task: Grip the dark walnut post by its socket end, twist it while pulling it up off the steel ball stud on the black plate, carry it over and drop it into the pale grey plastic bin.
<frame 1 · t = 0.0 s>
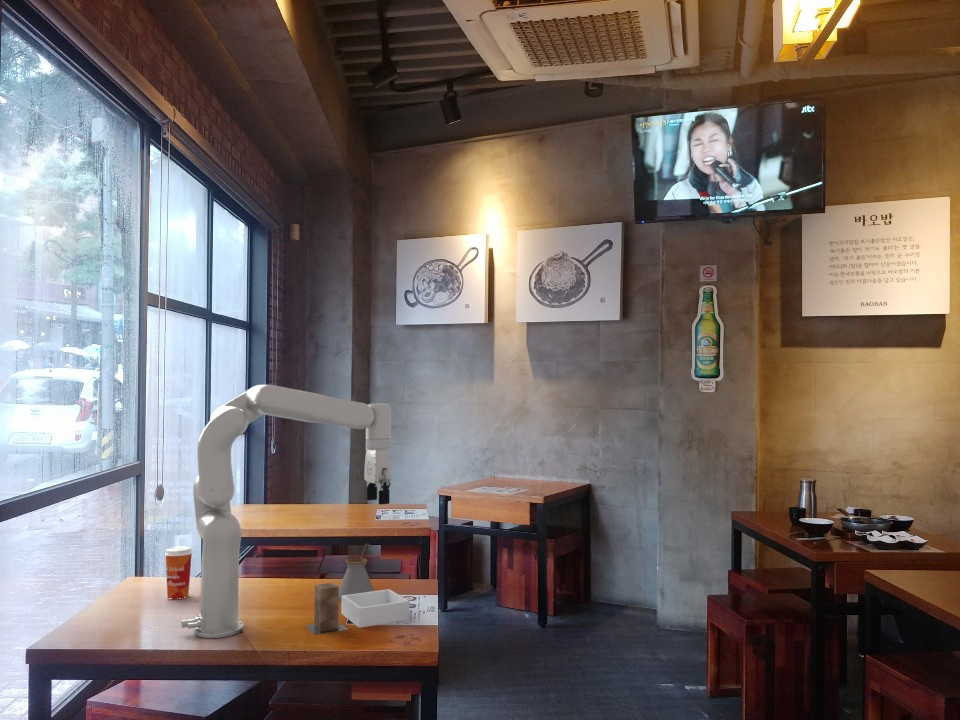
hand: (377, 501, 222), 31 cm above the table, tool pointing down, fingers open, 9 cm apart
stud plate: (326, 631, 199), on the table
walnut post: (326, 627, 199), point 1 cm above the table, touching stud plate
coffee cup: (178, 597, 232), on the table
coffee pot: (359, 599, 231), on the table
grey bin: (374, 620, 209), on the table
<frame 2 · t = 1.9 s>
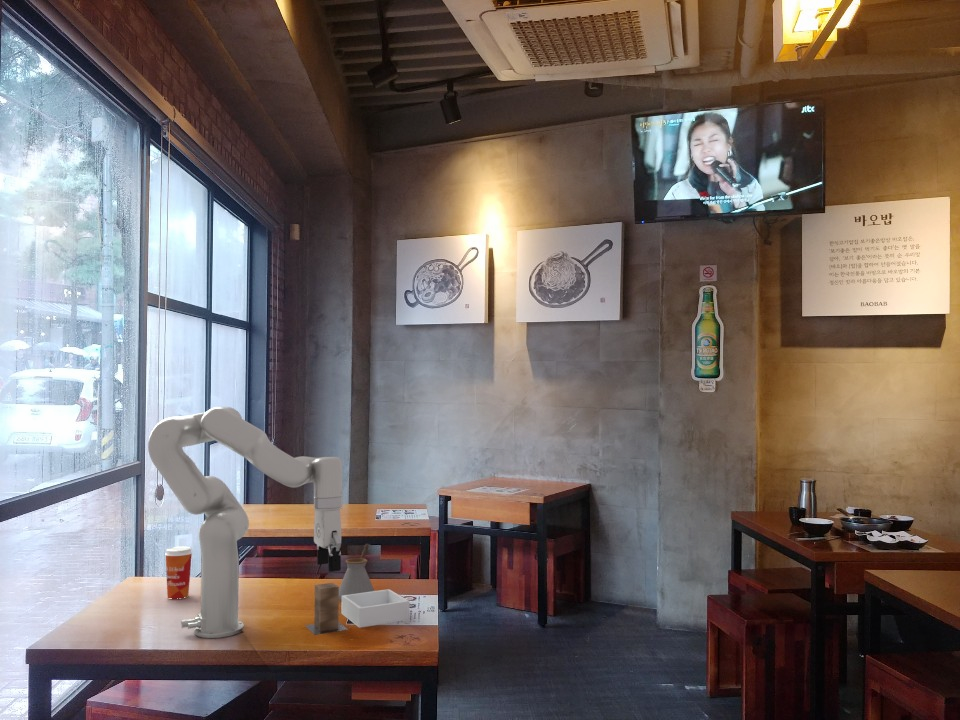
hand: (328, 567, 200), 17 cm above the table, tool pointing down, fingers open, 9 cm apart
nothing on the table moved.
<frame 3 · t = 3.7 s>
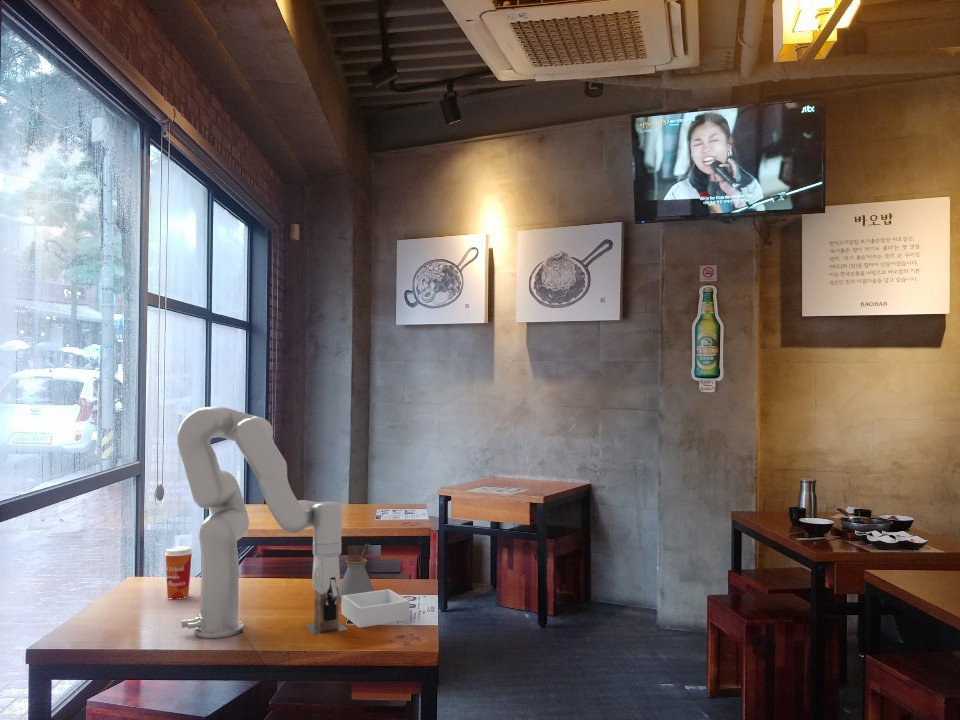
hand: (326, 616, 199), 4 cm above the table, tool pointing down, fingers closed on walnut post, 5 cm apart
walnut post: (326, 627, 199), point 1 cm above the table, touching gripper, stud plate
everything else where it was.
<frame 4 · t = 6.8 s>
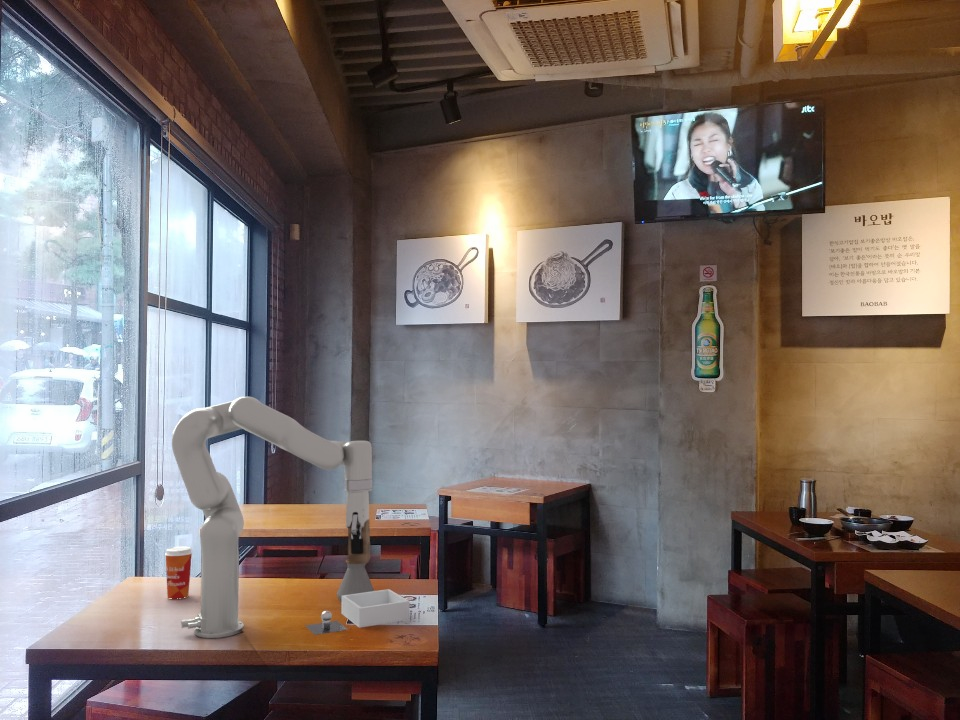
hand: (359, 550, 206), 20 cm above the table, tool pointing down, fingers closed on walnut post, 5 cm apart
walnut post: (359, 561, 206), point 17 cm above the table, touching gripper
everything else where it was.
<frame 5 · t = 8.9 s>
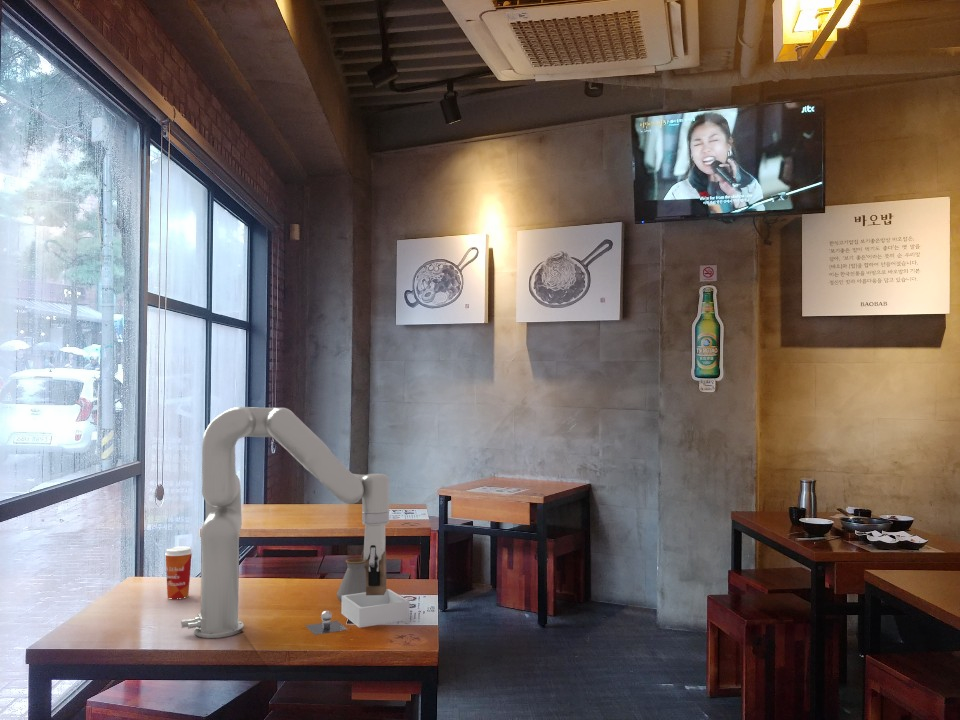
hand: (375, 582, 209), 10 cm above the table, tool pointing down, fingers closed on walnut post, 5 cm apart
walnut post: (376, 592, 209), point 8 cm above the table, touching gripper
everything else where it was.
when the fingers open (5 cm above the table, at t = 10.3 s): walnut post drops 1 cm, resting on grey bin.
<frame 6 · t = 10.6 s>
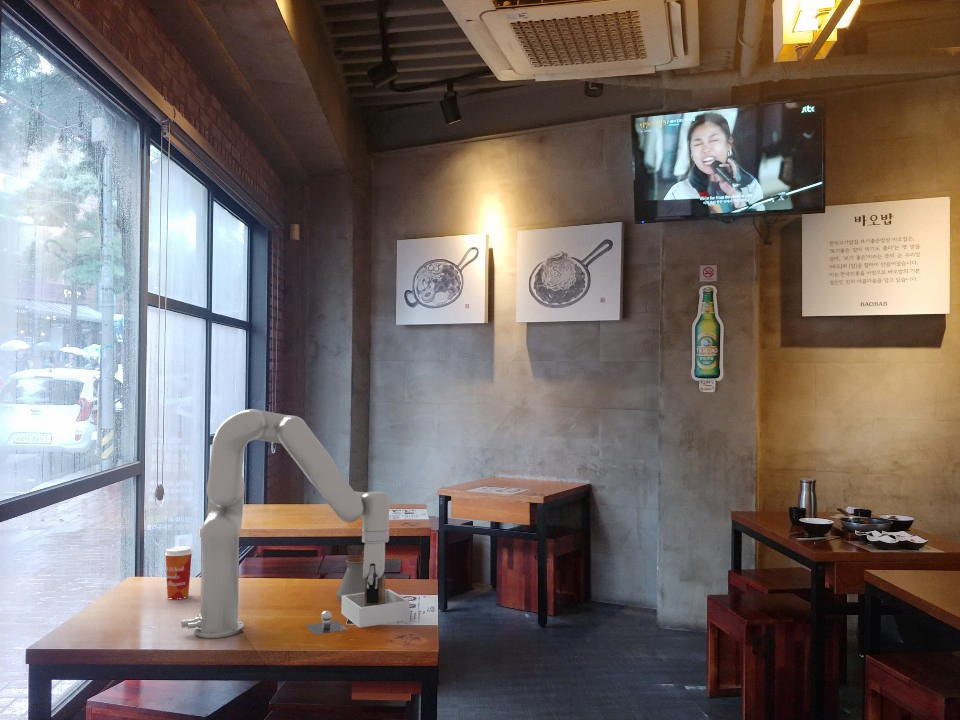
hand: (374, 598, 209), 6 cm above the table, tool pointing down, fingers open, 8 cm apart
walnut post: (374, 616, 209), point 1 cm above the table, touching grey bin
everything else where it was.
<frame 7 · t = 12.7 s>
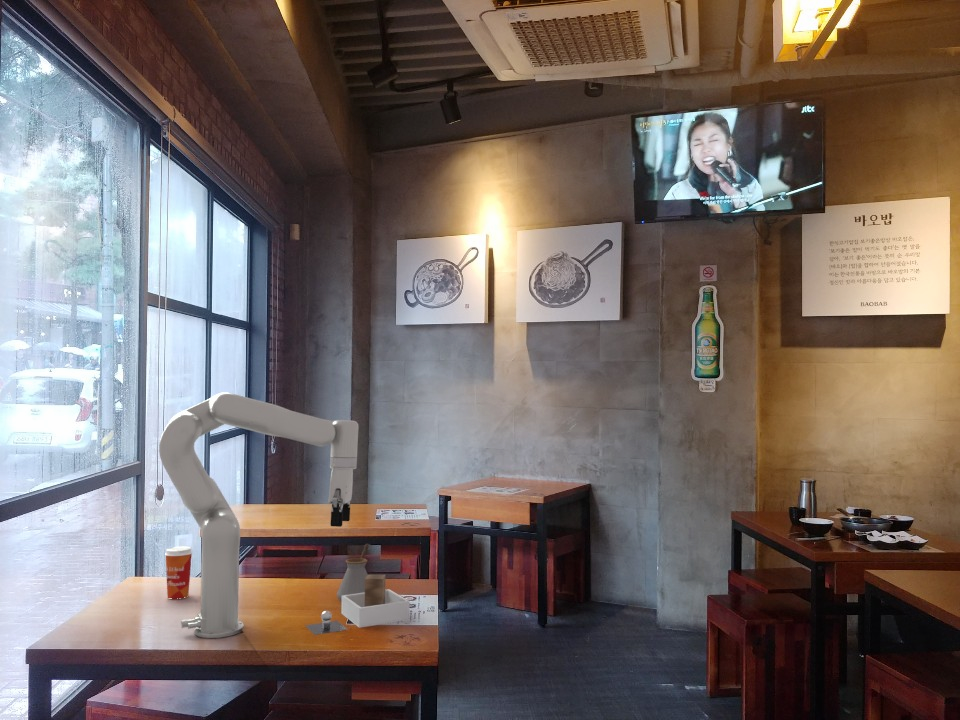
hand: (340, 523, 212), 27 cm above the table, tool pointing down, fingers open, 9 cm apart
nothing on the table moved.
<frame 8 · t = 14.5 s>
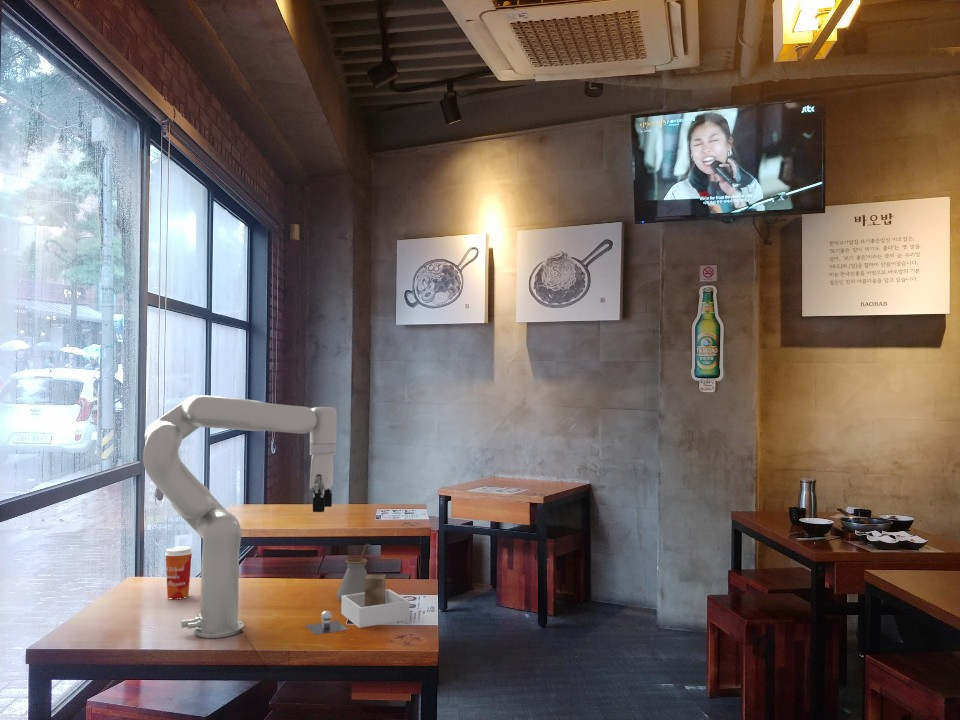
hand: (322, 509, 214), 30 cm above the table, tool pointing down, fingers open, 9 cm apart
nothing on the table moved.
at the end: walnut post inside the target area on the grey bin (0.0 cm from its centre), point 1.0 cm above the grey bin's base; the gripper is holding nothing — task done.
